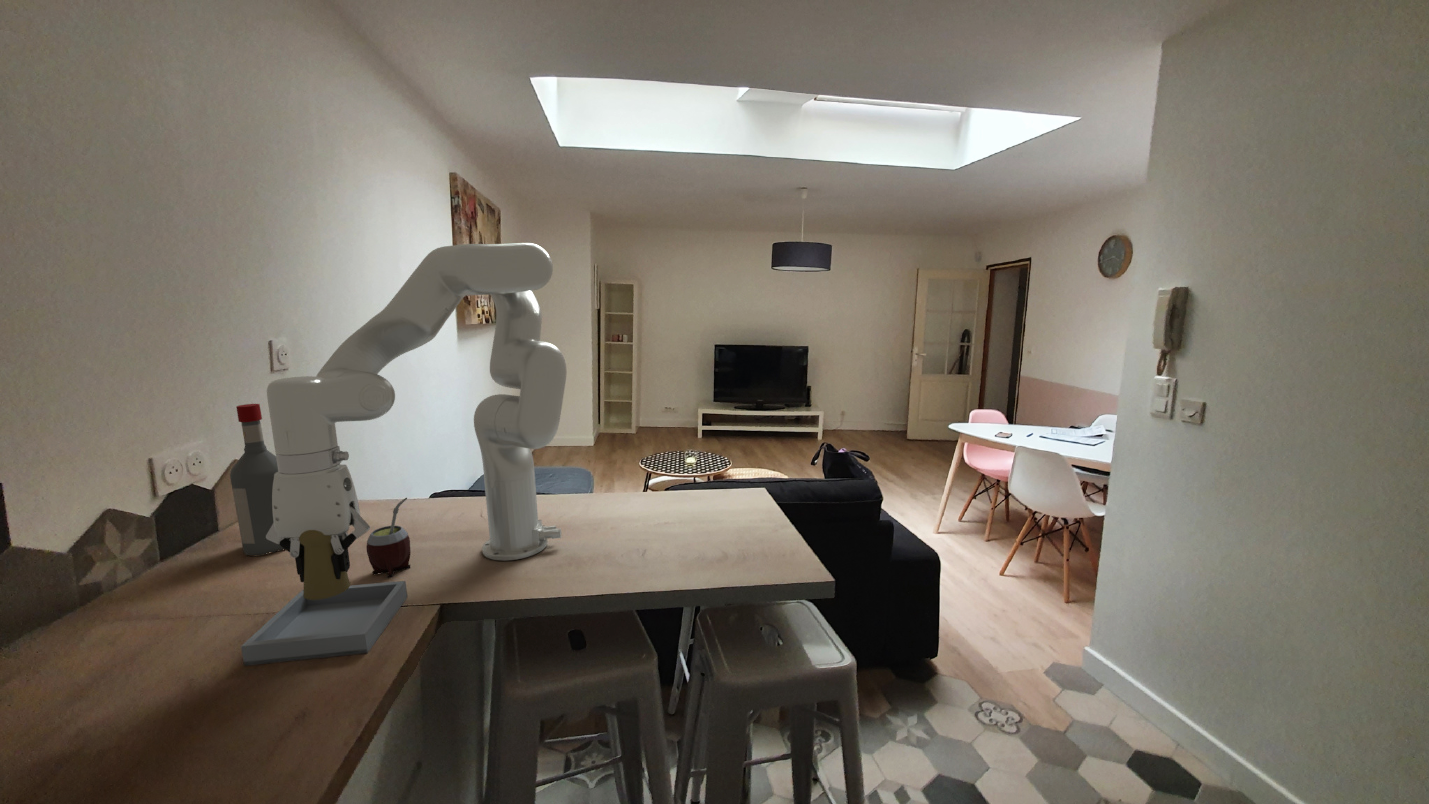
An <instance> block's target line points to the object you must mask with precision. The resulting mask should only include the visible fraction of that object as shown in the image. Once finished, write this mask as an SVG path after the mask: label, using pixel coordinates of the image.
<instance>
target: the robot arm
mask: <svg viewBox="0 0 1429 804" xmlns="http://www.w3.org/2000/svg"><path fill="white" fill-rule="evenodd" d="M553 271H554V265H553V261H552V258H551V256H550V255H549V253H548V252H547V250H545V249H544V248H543V247H542V246H540V245H538V244H536V243H532V242H518V243H517V242H516V243H465V244H456V245H448V246H440V247H437V248H435V249H433V250H432V251H430V252H429V253H428V254H427V255H426V256H425V257H424V258H423V259H422V260H421V262H420V263H419V264H418V266H417V267H416V268H415V270H413V272H412V274H411V275H410V276H409V277H408V279H407V280H406V281H405V282H404V284H403V285H402V286H401V287H400V288H399V290H398V291H397V293H395V295H394V296H393V298H391V300H390V301H389V303H388V304H386V306H385V307H384V308H383V309H382V310H381V311H379V313H377V314H376V315H374V316H373V317H371V318H370V319H369V320H367V322H366V323H365V324H363V325H362V326H360V327H359V328H358V329H357V330H356V331H355V332H353V333H352V334H351V335H350V336H348V338H346V339H345V340H344V341H343V342H342V343H341V344H340V345H339V346H338V347H337V348H336V350H335V351H334V352H333V353H332V354H331V356H330V357H329V358H328V359H327V361H326V362H325V363H324V365H323V366H322V367H321V369H320V370H319V371H318V373H317V374H316V376H312V375H311V376H295V377H293V376H292V377H284V378H279V379H275V380H272V381H271V382H270V383H268V385H267V388H266V399H267V404H268V412H269V418H270V425H271V430H272V431H271V433H272V439H273V445H274V446H273V447H274V452H275V456H276V459H277V466H278V472H277V473H275V474H274V480H273V489H272V510H273V521H274V523H273V524H272V526H271V528H270V530H269V531H268V533H267V535H266V539H268V540H270V541H272V542H274V543H276V544H280V546H281V547H283V548H284V549H285V550H284V551H287V552H288V553H289V555H290V557H291V558H294V561H295V565H296V566H295V567H296V572H297V574H296V575H298V576H299V581H300V583H304V546H303V545H302V544H301V543H300V541H299V539H298V538H299V537H300V535H301V534H302V533H303V532H305V531H308V530H317V531H320V532H322V533H323V534H324V535H328V536H331V537H332V538H331V544H332V546H333V549H334V554H333V555H332V556H331V561H332V564H333V568H334V574H335V577H336V579H340V577H341V571H346V573H347V574H348V571H349V570H350V567H351V563H350V554H349V547H350V546H352V544H353V543H354V542H356V540H357V539H359V538H360V537H362V536H363V535H364V534H367V532H368V531H370V529H371V526H370V525H369V523H367V521H366V520H365V519H364V518H363V517H362V516H361V512H360V505H359V501H358V500H359V499H358V496H357V492H356V487H355V485H354V481H353V478H352V475H351V473H350V469H349V468H348V466H347V464H341V463H342V462H343V461H348V459H349V455H350V453H349V452H348V451H345V450H344V451H343V450H340V445H338V444H339V443H338V436H337V429H336V428H337V427H336V423H340V422H341V423H343V422H366V421H373V420H376V419H379V418H381V417H382V416H384V415H386V414H387V413H388V412H390V410H391V409H392V408H393V406H394V403H395V400H396V393H395V392H396V391H395V389H394V387H393V385H392V384H391V382H390V381H389V380H388V379H387V378H385V377H384V376H382V375H379V373H380V372H381V371H382V370H383V369H384V368H385V367H386V366H387V365H389V363H391V362H392V361H394V360H395V359H397V358H398V357H400V356H402V355H404V354H407V353H408V352H410V351H414V350H416V349H418V348H420V347H423V346H424V345H427V344H428V343H430V342H431V341H432V340H433V339H434V338H436V336H437V334H438V333H439V332H440V330H441V329H442V328H443V327H444V325H445V323H446V322H447V321H448V319H449V318H450V316H451V315H452V314H453V312H454V311H455V310H456V308H457V307H458V306H459V304H460V303H461V301H462V300H463V299H464V297H466V296H488V295H490V298H491V299H492V301H493V304H494V306H495V311H496V320H495V327H494V334H493V335H494V336H493V341H492V347H491V354H490V360H489V373H490V377H491V378H492V380H493V381H494V383H496V384H497V385H499V386H501V387H505V388H510V389H516V390H519V395H514V394H512V395H511V394H502V393H501V394H500V393H499V394H493V395H489V396H487V397H486V398H484V399H482V400H481V401H480V402H479V404H477V407H476V408H475V411H474V415H473V427H474V432H475V436H476V439H477V442H478V446H479V449H480V454H481V460H482V469H483V480H484V482H483V483H484V493H485V501H486V502H485V503H486V504H485V505H486V514H487V524H488V525H487V526H488V533H489V534H488V536H489V539H488V540H486V541H485V543H483V544H482V547H481V548H482V554H483V556H484V557H485V558H487V559H490V560H493V561H503V562H504V561H515V560H520V559H525V558H529V557H532V556H534V555H536V554H538V553H540V552H542V551H543V550H544V549H545V548H546V547H547V546H548V542H549V540H548V539H553V540H555V539H561V538H562V528H557V525H549V526H545V525H543V523H542V519H539V515H538V514H539V513H538V503H537V502H538V501H537V500H538V499H537V488H536V487H537V486H536V474H535V472H536V471H535V461H534V457H533V453H532V450H538V449H543V448H545V447H546V446H548V445H549V444H551V442H552V441H553V440H554V438H555V437H556V434H557V432H558V429H559V426H560V419H561V414H562V408H563V402H564V395H565V388H566V382H567V364H566V360H565V356H564V355H563V354H564V353H562V351H561V350H560V348H558V347H557V346H556V345H555V344H553V343H550V342H549V341H542V340H541V334H542V333H541V331H542V322H543V321H542V319H543V317H542V311H541V307H540V305H539V304H540V303H539V301H538V299H537V297H536V296H535V294H534V292H533V291H537V290H540V289H543V287H545V286H547V284H548V283H549V282H550V280H551V279H552V276H553ZM350 526H351V527H353V529H354V530H353V531H352V532H350V533H348V532H349V530H350Z"/></svg>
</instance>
